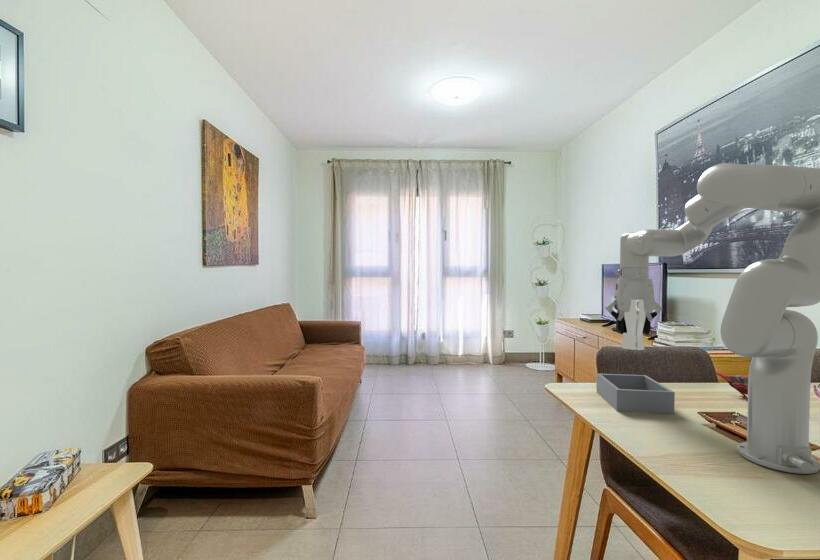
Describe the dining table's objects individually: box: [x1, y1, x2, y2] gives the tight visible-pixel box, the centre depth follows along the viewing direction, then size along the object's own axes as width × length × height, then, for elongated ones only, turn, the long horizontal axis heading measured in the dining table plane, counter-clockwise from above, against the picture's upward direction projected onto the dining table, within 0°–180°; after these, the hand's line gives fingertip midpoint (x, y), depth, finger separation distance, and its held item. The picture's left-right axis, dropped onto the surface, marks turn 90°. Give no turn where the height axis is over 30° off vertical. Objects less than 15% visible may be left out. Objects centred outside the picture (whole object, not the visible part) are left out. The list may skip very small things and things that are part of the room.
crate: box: [596, 373, 676, 414], centre depth 120 cm, size 18×15×6 cm
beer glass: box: [621, 299, 647, 351], centre depth 120 cm, size 7×7×15 cm
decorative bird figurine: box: [713, 370, 749, 401], centre depth 124 cm, size 3×18×10 cm, turn 14°
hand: (632, 333), depth 120 cm, fingers closed on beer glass, 6 cm apart
